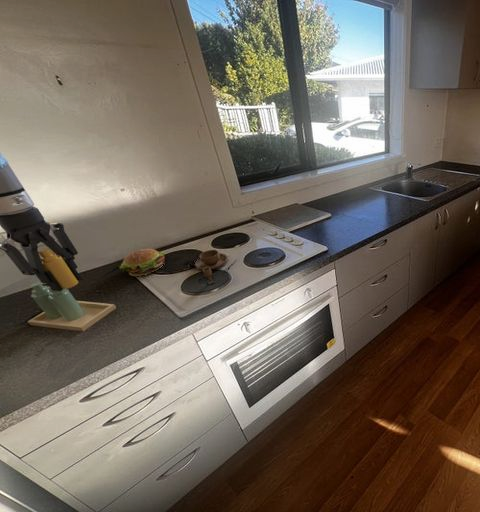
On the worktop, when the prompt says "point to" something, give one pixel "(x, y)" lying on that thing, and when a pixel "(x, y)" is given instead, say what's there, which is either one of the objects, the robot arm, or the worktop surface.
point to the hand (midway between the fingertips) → (67, 284)
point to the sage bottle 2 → (65, 304)
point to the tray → (91, 316)
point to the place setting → (211, 262)
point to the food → (143, 262)
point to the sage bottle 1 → (44, 300)
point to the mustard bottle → (57, 268)
